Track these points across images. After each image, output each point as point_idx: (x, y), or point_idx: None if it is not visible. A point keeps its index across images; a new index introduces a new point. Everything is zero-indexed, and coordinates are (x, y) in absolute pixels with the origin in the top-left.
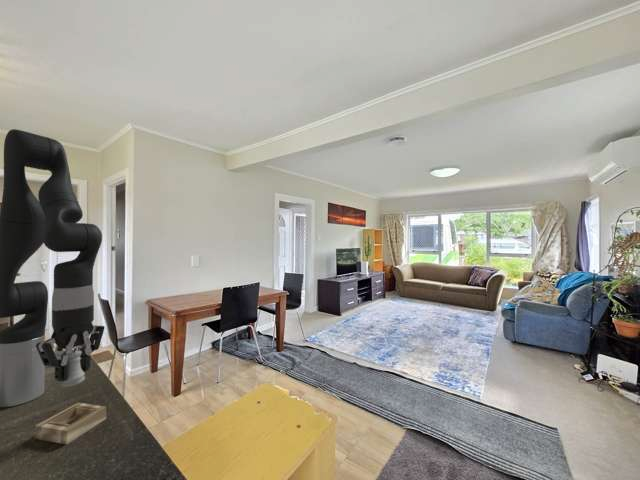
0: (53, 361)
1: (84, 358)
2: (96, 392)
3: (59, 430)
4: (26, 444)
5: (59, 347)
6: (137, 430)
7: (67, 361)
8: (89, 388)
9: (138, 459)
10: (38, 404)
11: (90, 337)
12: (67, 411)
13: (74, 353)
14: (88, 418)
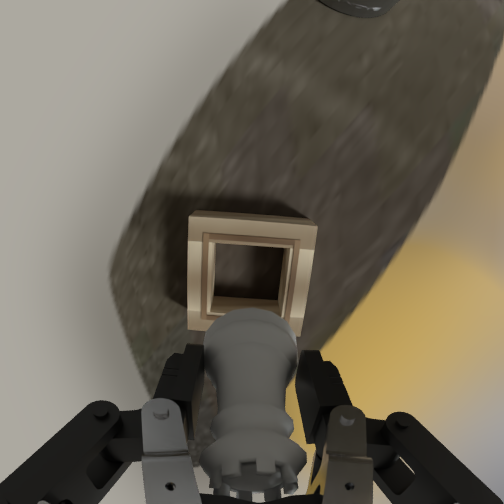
0: (105, 465)
1: (307, 428)
2: (413, 170)
3: (188, 304)
4: (175, 210)
5: (166, 501)
6: None
7: (214, 430)
8: (428, 127)
9: (196, 439)
10: (335, 46)
11: (430, 480)
12: (265, 242)
13: (230, 488)
14: None
